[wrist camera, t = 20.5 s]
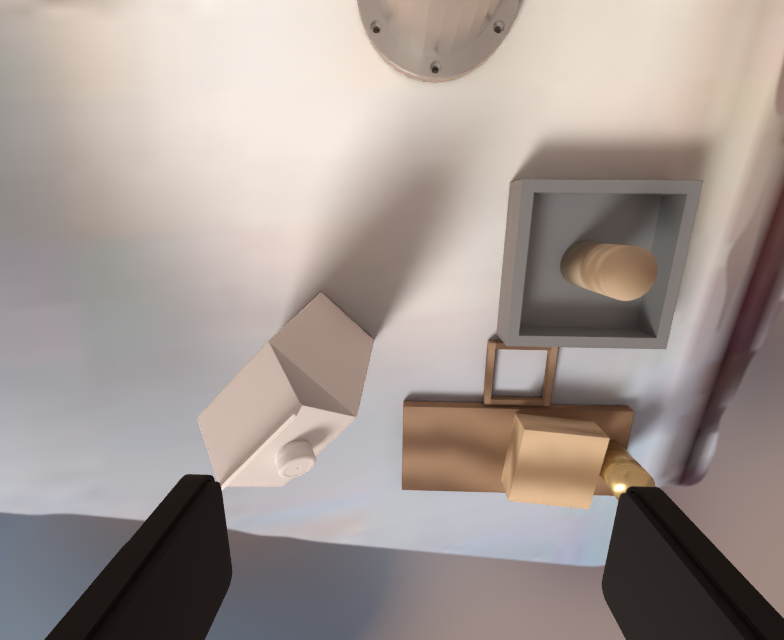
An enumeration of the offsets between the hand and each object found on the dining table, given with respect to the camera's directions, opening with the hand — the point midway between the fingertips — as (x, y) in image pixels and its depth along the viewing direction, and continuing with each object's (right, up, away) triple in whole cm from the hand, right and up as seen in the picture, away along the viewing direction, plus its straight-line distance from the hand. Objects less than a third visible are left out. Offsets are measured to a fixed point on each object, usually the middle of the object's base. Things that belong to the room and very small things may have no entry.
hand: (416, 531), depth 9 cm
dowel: (+17, +10, +25) cm, 32 cm away
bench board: (+12, -8, +31) cm, 35 cm away
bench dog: (+22, -9, +30) cm, 38 cm away
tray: (+17, +10, +26) cm, 33 cm away
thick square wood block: (+15, -9, +30) cm, 35 cm away
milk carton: (-7, +3, +29) cm, 30 cm away
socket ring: (+12, 0, +29) cm, 32 cm away
